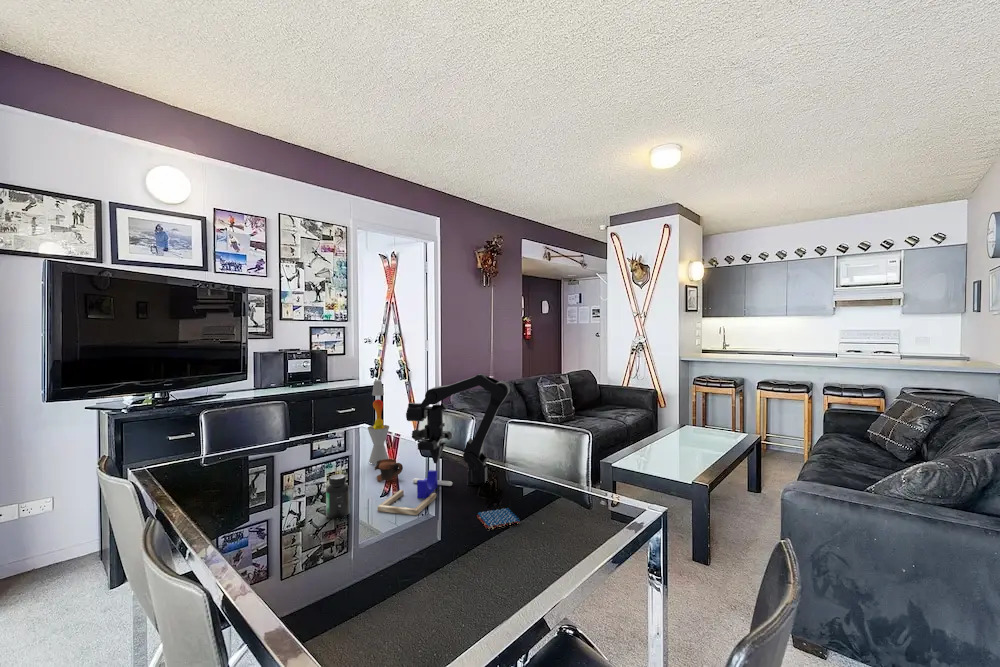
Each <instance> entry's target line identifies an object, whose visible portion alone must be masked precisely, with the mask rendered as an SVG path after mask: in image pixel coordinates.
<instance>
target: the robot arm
mask: <svg viewBox="0 0 1000 667" xmlns="http://www.w3.org/2000/svg"><path fill="white" fill-rule="evenodd" d="M475 387H481V388H483V389H484V390H485V391H488V392H489V393H491V394H490V399H489V403H488V406H487V409H486V411H485V413H484V415H483V418H482V420H481V422H480V423H479V424H480V425H479V426H478V428H477V431H476V433H475V435H474V437H473V439H472V438H471V437H470V438H469V439H468V441H467V442H466V444H465V448H464V449H463V450H462V453H463V454H462V459H463V461H464V462H465V463H466V464H467V467H468V469H467V472H466V474H467V477H466V478H467V479H466V480H467V481H466V482H467V483H466V485H467V486H473V485H483V484H485V483H486V481H487V479H488V465H486V464H487V462H488V457H487V456H486V455H485V454H484V453H483V450H484V446H485V445H484V444H485V440H486V438H487V435H488V433H489V431H490V429H491V427H492V424H493V422H494V419H495V418H496V415H497V413H498V410H499V409H500V406H501V405H502V404H503V402H504V401H505V400H506V398H507V397H508V395H509V394H510V392H511V386H510V384H509V383H508V382H507V381H505V380H500V381H499V380H498V379H495V378H492V377H489V376H488V375H485V374H484V373H479V374H477V375H475V376H474V375H473V377H472V376H471V377H469V378H466V379H463V380H460V381H457V382H455V383H452V384H451V383H450V384H447V385H440V386H434V387H432V388H430V389H427V391H425V395H424V399H423V400H422V402H421V403H420V402H418V403H417V402H409V403H408V404H407V409H406V413H405V417H406V421H407V422H423V421H424V422H425V419H426V422H427V424H425V425H424V427H423V428H421V429H419V428H416V429H414V430H412V432H411V439H413V440H414V442H417V441H418V440H420V441H418V443H417V450H419V451H429V453H430V455H431V458H432V461H433V464H438V463H439V460H440V458H441V455H442V453H443V451H444V449H445V446H446V444H447V442H444V441H443V439H447V441H450V440H452V438H453V437H452V436H453V433H452V432H451V431H450V430H449V431H448V430H447V431H446V430H444V427H445V426H446V424H445V422H444V419H443V417H444V416H443V412H444V411H446V410H447V409H449V407H448V406H447V405H446V404H445V402H442V401H444V400H445V399H447V398H449V397H451V396H453V395H455V394H458V393H461V392H464V391H466V390H467V391H468V390H470V389H473V388H475ZM440 402H442V403H440ZM438 403H440V404H438ZM430 405H432V406H430ZM421 439H422V440H421Z"/></svg>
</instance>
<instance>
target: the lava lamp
mask: <svg viewBox="0 0 1000 667" xmlns="http://www.w3.org/2000/svg"><path fill="white" fill-rule="evenodd" d="M384 395H385V392H384V388H383V382H382V380H381V379H376V380H374V381H373V387H372V393H371V396H375V397H377V396H378V397H379V396H380V397H381V396H384ZM372 407H373V408H374V410H375V412H376V418H375V420H374V424H373V425H371V426H368V427H367V431H368V432H369V436H370V439H371V441H372V444H373V445H372V446H373V447H372V450H371V453H370V457H369V459H368V463H369V462H370V463H372V464H377V461H379V460H384V459H390V458H389V455H388V452H387V449H386V447H385V441H386V439H387V435H388V432H389V429H390V425H387V424H384V420H383V419H382V413H383V412H382V411H383V408H384V401H383V400H381V399H375V400H374V401H373V402H372ZM372 464H371V465H372Z"/></svg>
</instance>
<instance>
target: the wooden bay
mask: <svg viewBox="0 0 1000 667" xmlns="http://www.w3.org/2000/svg"><path fill="white" fill-rule="evenodd" d="M404 494H405V493H404V489H400V490H398V491H396V492H395V493H394V494H393V495H391V496H389V497H388V498H386V500H383V502H381V503H380V504H379V505H377V512H382V513H385V512H386V513H391V514H402V515H411V516H418V514H419V513H421V512H422V511H423V510H424V509H426V507H428V506H429V505H430V504H431V503H432V502H433V501H434V500H435V499H436V498H437V492H432V493H431V494H430V495H429V496H428V497H427V498H426V499H424V500H423V501H421V502H420V503H419V504H418V505H417V506H415V508H414V507H413V508H412V507H405V506H395V505H394V506H393V505H392V504H393V503H394V502H396V501H397V500H398V499H399V498H401V497H402V496H404Z"/></svg>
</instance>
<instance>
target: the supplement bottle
mask: <svg viewBox="0 0 1000 667" xmlns="http://www.w3.org/2000/svg"><path fill="white" fill-rule="evenodd" d="M346 482H347V478H346V475H345V474H343V473H342V474H341V473H339V474H333V475H331V476H329V477H328V484H329V485H328V486H326V488H325V515H326V518H327V517H328V519H329V518H330V520H338V519H337V518H341V517H344V516H346V515H348V514H349V515H350V508H351V507H350V505H351V504H350V485H349V484H348V483H346ZM349 515H348V516H349ZM346 517H347V516H346ZM344 518H345V517H344ZM341 519H342V518H341Z"/></svg>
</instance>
